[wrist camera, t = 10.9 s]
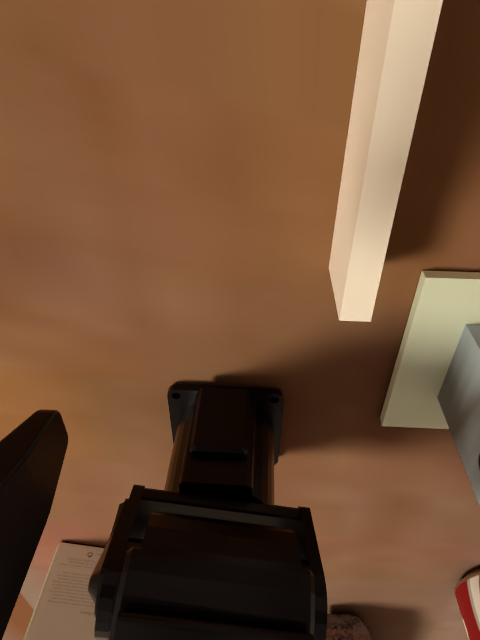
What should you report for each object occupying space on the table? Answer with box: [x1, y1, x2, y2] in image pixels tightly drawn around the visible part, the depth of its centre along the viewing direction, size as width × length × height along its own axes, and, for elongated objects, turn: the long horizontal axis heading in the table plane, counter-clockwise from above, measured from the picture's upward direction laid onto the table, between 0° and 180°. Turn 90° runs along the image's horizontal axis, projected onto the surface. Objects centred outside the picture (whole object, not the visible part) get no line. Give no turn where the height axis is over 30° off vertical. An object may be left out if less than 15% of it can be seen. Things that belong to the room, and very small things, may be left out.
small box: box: [24, 542, 104, 640], centre depth 36 cm, size 8×6×10 cm
